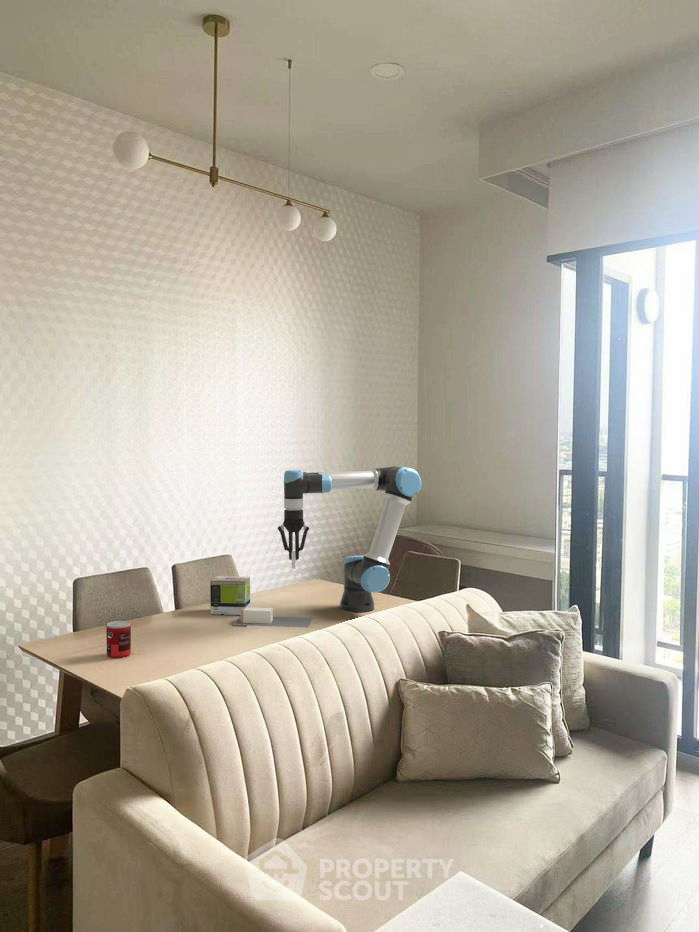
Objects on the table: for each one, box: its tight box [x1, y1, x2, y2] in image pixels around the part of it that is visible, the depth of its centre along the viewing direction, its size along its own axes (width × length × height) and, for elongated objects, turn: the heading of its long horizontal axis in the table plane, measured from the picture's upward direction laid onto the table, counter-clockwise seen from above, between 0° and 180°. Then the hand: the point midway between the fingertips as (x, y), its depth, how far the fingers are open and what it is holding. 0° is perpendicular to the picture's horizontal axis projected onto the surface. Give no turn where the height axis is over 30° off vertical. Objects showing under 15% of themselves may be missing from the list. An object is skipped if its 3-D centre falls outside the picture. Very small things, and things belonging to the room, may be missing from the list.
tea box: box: [209, 575, 251, 616], centre depth 304 cm, size 15×10×15 cm
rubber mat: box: [232, 615, 314, 628], centre depth 289 cm, size 30×14×1 cm, turn 86°
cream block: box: [240, 606, 274, 624], centre depth 289 cm, size 5×5×12 cm
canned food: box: [105, 620, 132, 659], centre depth 245 cm, size 8×8×11 cm
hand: (294, 567), depth 287 cm, fingers closed
